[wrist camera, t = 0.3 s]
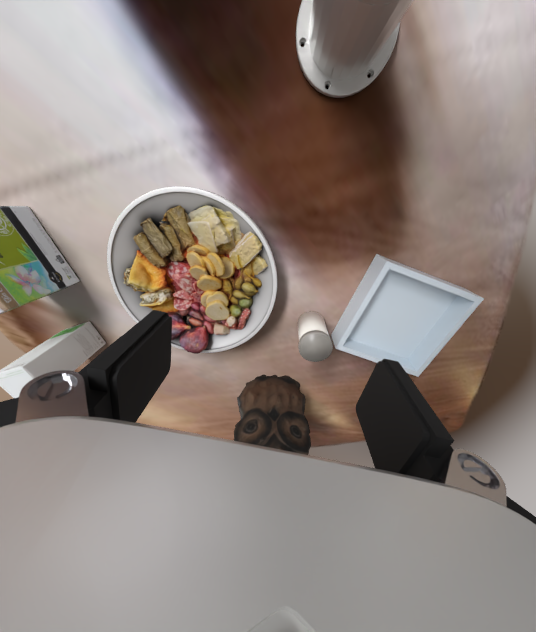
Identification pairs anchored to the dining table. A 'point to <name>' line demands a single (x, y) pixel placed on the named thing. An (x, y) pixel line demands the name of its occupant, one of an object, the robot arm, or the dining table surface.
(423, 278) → the tote
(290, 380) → the owl
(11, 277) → the tea box
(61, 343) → the skincare box
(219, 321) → the bowl
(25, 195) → the dining table surface
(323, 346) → the canister
